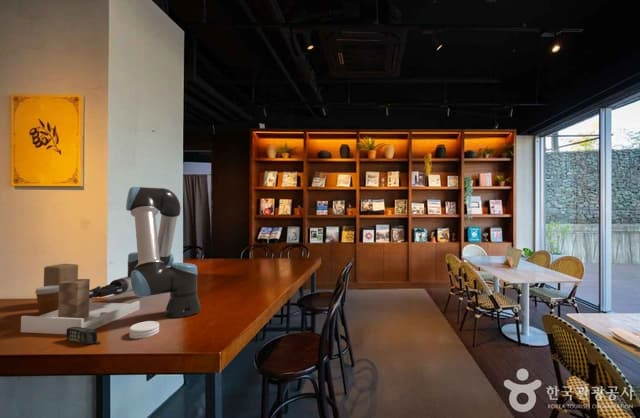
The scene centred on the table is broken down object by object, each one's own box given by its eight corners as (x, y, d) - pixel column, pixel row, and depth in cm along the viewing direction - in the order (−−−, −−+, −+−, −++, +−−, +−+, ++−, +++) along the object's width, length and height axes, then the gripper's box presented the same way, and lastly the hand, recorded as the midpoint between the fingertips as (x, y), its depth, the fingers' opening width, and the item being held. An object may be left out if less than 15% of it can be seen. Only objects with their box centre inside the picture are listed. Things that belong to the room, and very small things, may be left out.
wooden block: (57, 307, 143) (58, 267, 144) (41, 306, 145) (43, 266, 146) (78, 301, 153) (79, 264, 154) (63, 300, 155) (64, 263, 156)
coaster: (140, 329, 118) (140, 320, 118) (164, 329, 117) (164, 320, 117) (122, 339, 108) (122, 330, 108) (148, 340, 107) (149, 330, 107)
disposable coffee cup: (30, 317, 129) (31, 290, 129) (39, 311, 138) (39, 286, 138) (58, 314, 134) (59, 288, 134) (64, 308, 142) (65, 284, 142)
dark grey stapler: (64, 328, 106) (94, 332, 102) (73, 325, 109) (102, 328, 104) (64, 342, 106) (94, 346, 101) (73, 338, 109) (102, 342, 104)
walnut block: (88, 316, 124) (89, 279, 125) (76, 322, 117) (77, 282, 118) (71, 317, 123) (72, 279, 124) (58, 323, 116) (59, 283, 117)
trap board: (90, 307, 144) (91, 295, 144) (139, 309, 142) (139, 296, 142) (20, 332, 114) (21, 316, 114) (81, 335, 111) (81, 319, 111)
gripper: (133, 293, 147) (91, 308, 123) (109, 292, 148) (64, 307, 125) (133, 278, 147) (92, 290, 124) (109, 278, 148) (64, 289, 125)
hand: (78, 298), depth 124 cm, fingers closed
